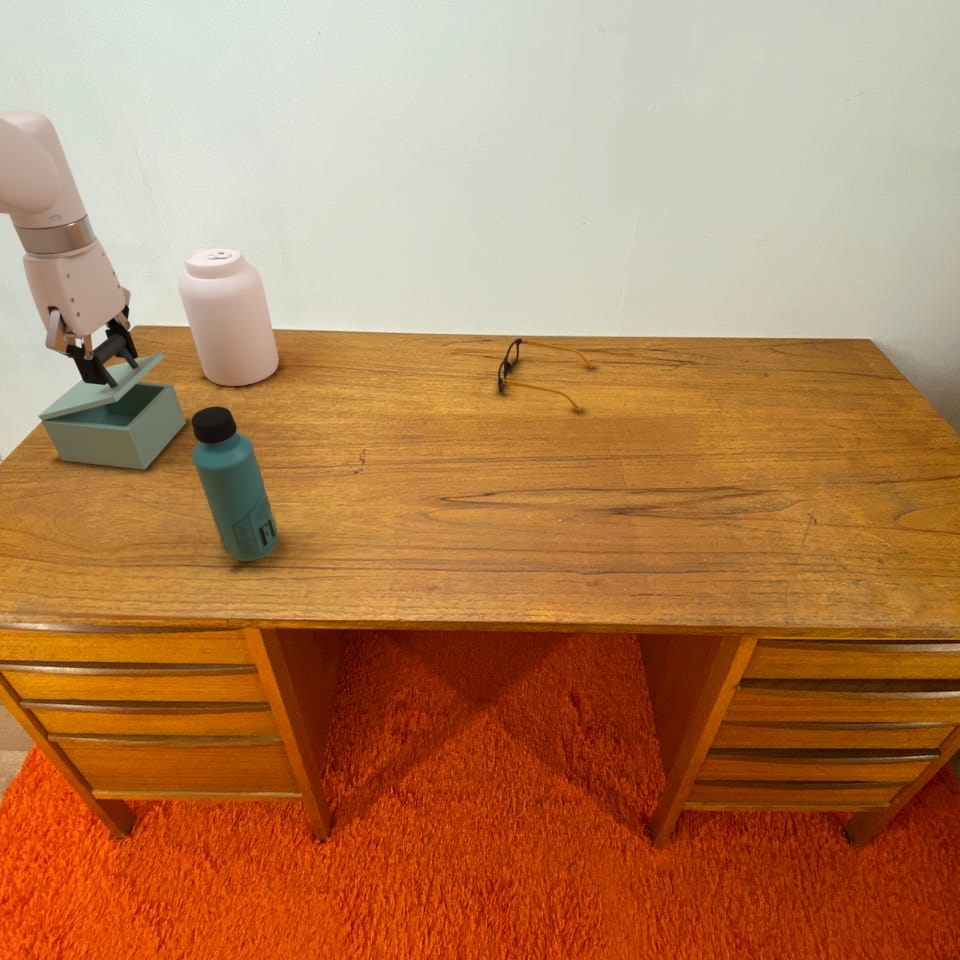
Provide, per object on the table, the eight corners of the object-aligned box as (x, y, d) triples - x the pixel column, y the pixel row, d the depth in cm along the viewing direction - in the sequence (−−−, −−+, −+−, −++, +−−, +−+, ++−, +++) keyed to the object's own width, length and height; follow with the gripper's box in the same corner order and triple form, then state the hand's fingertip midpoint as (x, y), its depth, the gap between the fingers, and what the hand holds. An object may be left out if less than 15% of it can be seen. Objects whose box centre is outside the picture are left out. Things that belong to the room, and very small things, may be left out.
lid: (164, 357, 90) (139, 320, 87) (117, 401, 82) (86, 362, 78) (94, 376, 95) (67, 342, 91) (41, 420, 86) (9, 384, 82)
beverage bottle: (274, 572, 75) (234, 434, 62) (218, 570, 75) (166, 432, 62) (288, 532, 80) (253, 397, 67) (235, 531, 80) (190, 396, 67)
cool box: (186, 422, 98) (173, 384, 93) (144, 470, 89) (128, 430, 84) (110, 414, 99) (93, 376, 95) (61, 460, 90) (41, 421, 86)
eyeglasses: (512, 356, 115) (513, 336, 112) (592, 368, 112) (595, 348, 109) (492, 398, 104) (493, 376, 102) (580, 412, 101) (583, 391, 99)
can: (264, 344, 117) (239, 233, 104) (291, 373, 109) (268, 258, 96) (194, 363, 111) (159, 249, 98) (218, 396, 103) (183, 276, 90)
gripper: (75, 209, 81) (123, 337, 93) (-29, 259, 68) (43, 401, 80) (129, 212, 80) (172, 342, 92) (35, 265, 67) (98, 407, 79)
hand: (111, 368), depth 86 cm, fingers closed on lid, 6 cm apart
